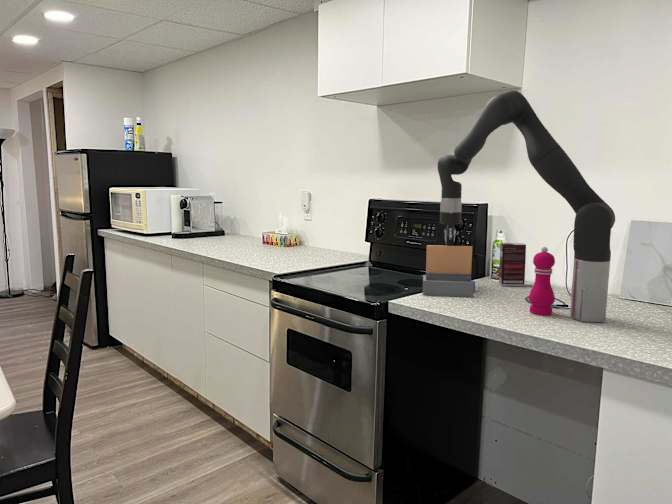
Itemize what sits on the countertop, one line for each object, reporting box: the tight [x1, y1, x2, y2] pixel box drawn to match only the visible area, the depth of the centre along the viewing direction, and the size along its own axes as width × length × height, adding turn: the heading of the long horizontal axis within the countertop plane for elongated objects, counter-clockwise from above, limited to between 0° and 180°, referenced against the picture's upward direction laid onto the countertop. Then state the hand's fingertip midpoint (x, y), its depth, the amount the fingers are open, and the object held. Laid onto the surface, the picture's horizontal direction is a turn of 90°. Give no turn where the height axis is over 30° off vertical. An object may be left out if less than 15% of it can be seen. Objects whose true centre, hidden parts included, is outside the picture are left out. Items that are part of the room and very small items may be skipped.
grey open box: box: [422, 274, 474, 298], centre depth 178 cm, size 11×17×5 cm, turn 80°
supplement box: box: [498, 242, 527, 287], centre depth 190 cm, size 9×5×16 cm, turn 84°
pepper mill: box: [528, 246, 556, 316], centre depth 150 cm, size 7×7×20 cm
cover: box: [425, 244, 473, 277], centre depth 182 cm, size 11×16×1 cm
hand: (449, 257), depth 186 cm, fingers closed
